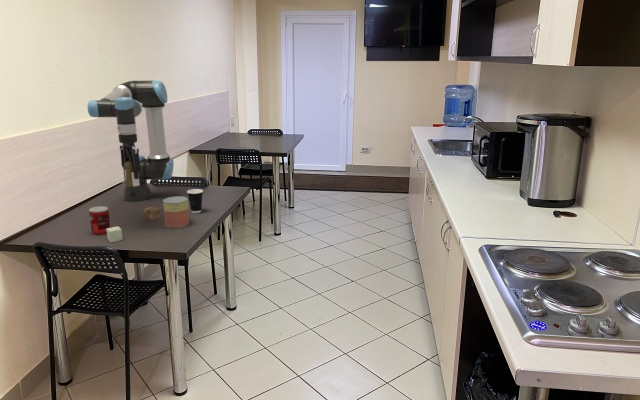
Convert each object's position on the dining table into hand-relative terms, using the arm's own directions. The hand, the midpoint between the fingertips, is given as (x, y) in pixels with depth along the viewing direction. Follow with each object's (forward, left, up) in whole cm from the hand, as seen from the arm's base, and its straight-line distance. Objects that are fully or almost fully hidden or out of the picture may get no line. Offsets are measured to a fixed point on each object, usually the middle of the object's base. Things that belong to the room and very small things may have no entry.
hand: (132, 184), depth 216 cm
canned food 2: (+8, +16, -21) cm, 28 cm away
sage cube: (+8, -14, -21) cm, 26 cm away
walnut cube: (-8, +12, -21) cm, 25 cm away
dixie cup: (-2, +33, -21) cm, 39 cm away
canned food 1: (-6, -14, -21) cm, 26 cm away
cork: (0, 0, -1) cm, 1 cm away
